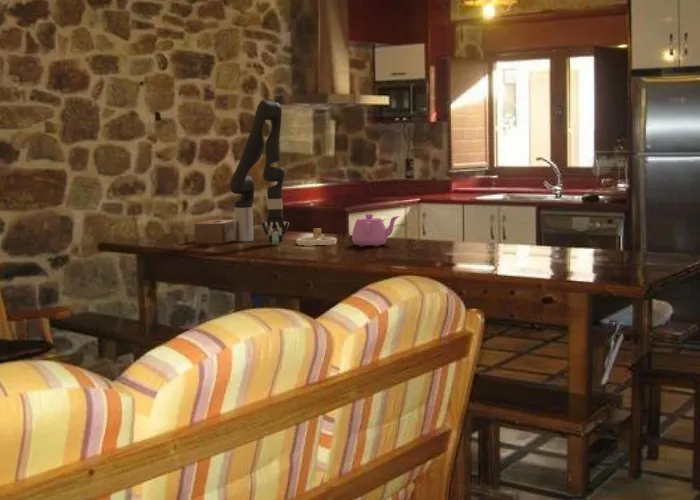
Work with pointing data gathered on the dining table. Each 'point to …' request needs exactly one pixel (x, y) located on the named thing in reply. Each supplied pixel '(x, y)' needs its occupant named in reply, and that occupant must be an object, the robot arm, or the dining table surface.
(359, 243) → the teapot
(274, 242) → the bead teal
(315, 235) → the bead oak
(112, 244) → the dining table surface
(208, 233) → the tissue box cover
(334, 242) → the tray
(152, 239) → the dining table surface
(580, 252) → the dining table surface
